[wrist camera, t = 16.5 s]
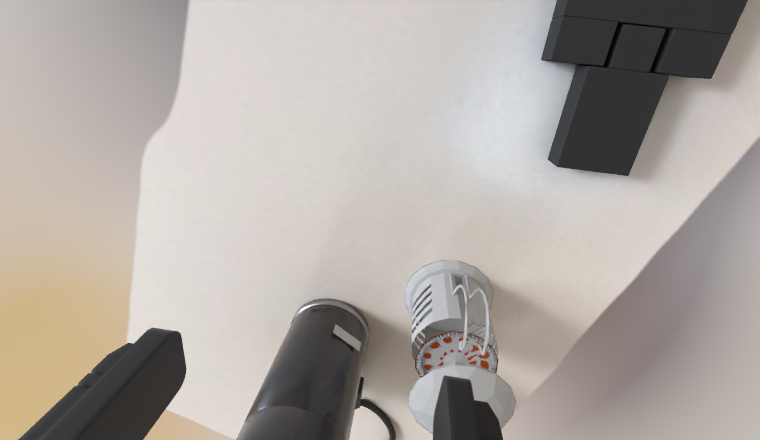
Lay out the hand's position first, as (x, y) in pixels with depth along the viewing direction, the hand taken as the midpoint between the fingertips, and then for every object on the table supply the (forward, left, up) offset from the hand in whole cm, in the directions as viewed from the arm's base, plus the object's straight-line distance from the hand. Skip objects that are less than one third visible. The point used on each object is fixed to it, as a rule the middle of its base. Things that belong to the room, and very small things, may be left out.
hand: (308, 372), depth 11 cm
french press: (-14, -9, -26) cm, 31 cm away
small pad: (+7, -18, -26) cm, 33 cm away
